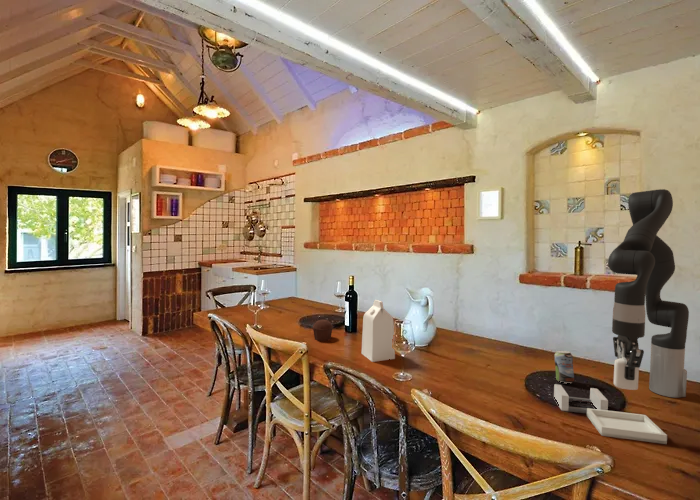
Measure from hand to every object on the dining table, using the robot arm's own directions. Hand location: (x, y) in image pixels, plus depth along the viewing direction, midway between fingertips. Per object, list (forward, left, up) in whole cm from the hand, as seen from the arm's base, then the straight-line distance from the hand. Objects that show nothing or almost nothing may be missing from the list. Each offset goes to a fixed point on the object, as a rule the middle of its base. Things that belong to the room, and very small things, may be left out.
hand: (626, 376), depth 106 cm
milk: (+82, -42, -16) cm, 94 cm away
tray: (0, 0, -16) cm, 16 cm away
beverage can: (+7, -33, -16) cm, 37 cm away
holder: (+8, -12, -16) cm, 21 cm away
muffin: (+116, -61, -16) cm, 132 cm away
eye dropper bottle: (0, 0, -3) cm, 3 cm away
